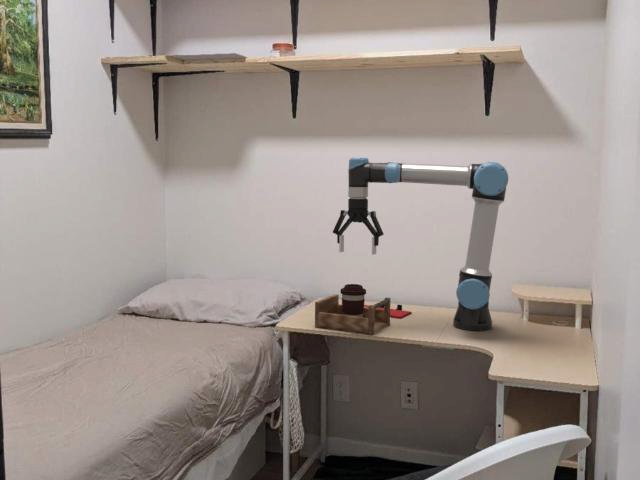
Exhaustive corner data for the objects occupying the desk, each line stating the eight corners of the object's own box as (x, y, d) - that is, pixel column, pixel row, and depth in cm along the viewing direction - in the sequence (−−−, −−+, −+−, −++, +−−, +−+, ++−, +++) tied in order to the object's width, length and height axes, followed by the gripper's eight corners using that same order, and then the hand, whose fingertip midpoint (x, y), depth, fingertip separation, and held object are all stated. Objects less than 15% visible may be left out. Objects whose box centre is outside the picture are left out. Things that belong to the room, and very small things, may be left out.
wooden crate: (389, 325, 274) (390, 297, 273) (372, 335, 258) (372, 306, 257) (334, 318, 285) (335, 291, 284) (314, 327, 269) (315, 299, 268)
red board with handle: (352, 304, 313) (336, 310, 300) (353, 298, 313) (336, 304, 300) (415, 313, 298) (400, 320, 286) (415, 306, 298) (401, 314, 285)
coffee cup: (364, 326, 266) (365, 288, 264) (339, 325, 267) (339, 287, 265) (365, 320, 276) (366, 283, 274) (340, 319, 277) (341, 282, 275)
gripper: (392, 198, 264) (391, 253, 267) (332, 196, 275) (332, 249, 278) (385, 199, 257) (384, 256, 260) (324, 197, 268) (324, 252, 271)
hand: (357, 253), depth 269 cm, fingers open, 13 cm apart
